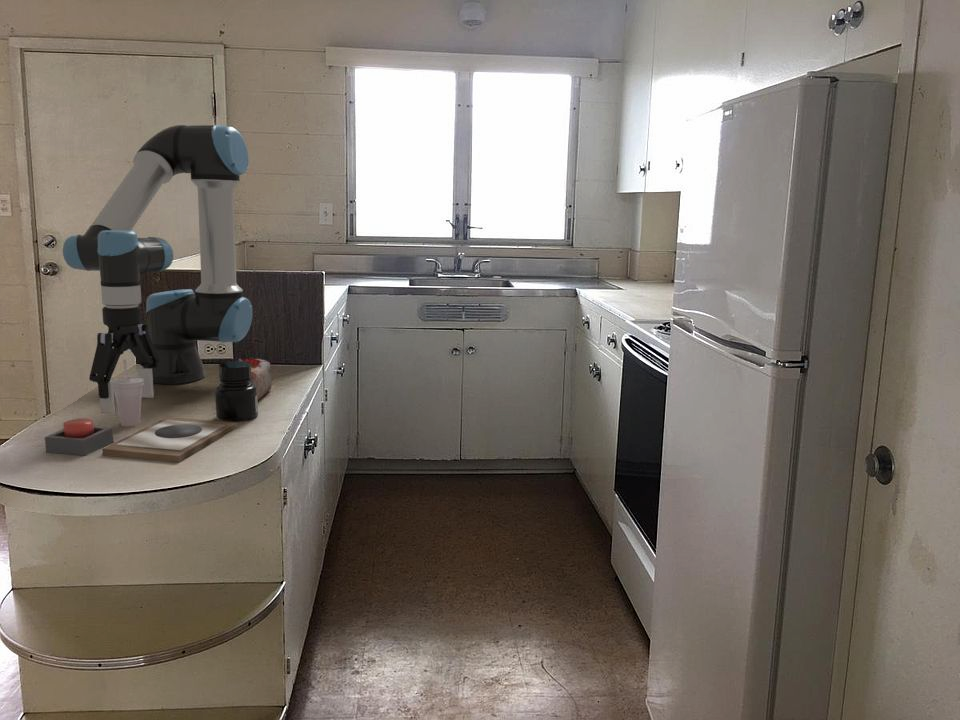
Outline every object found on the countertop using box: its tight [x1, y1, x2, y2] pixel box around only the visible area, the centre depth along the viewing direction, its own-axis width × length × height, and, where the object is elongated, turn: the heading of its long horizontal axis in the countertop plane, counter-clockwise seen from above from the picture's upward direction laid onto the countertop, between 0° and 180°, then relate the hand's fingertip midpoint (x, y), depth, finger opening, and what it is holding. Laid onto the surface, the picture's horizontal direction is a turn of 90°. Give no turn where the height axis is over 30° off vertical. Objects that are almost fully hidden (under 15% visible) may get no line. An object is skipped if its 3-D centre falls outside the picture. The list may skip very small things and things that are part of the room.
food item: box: [238, 357, 273, 401], centre depth 193 cm, size 14×8×10 cm, turn 179°
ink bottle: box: [214, 360, 259, 422], centre depth 176 cm, size 10×9×12 cm
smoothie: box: [110, 359, 144, 427], centre depth 169 cm, size 6×6×14 cm
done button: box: [62, 418, 95, 438], centre depth 154 cm, size 5×5×2 cm
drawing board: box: [101, 416, 238, 463], centre depth 160 cm, size 22×16×2 cm
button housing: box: [44, 425, 114, 456], centre depth 155 cm, size 8×8×3 cm
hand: (128, 404), depth 169 cm, fingers open, 13 cm apart
